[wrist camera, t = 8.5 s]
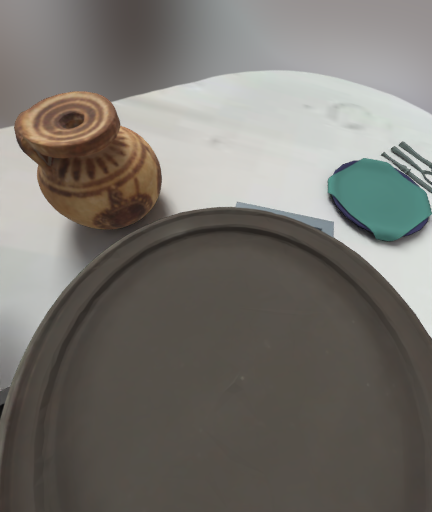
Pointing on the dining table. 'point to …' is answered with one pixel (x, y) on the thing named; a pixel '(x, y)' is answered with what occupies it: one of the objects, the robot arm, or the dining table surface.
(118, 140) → the clay pot
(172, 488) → the coffee can
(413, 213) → the cutlery set
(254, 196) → the dining table surface
